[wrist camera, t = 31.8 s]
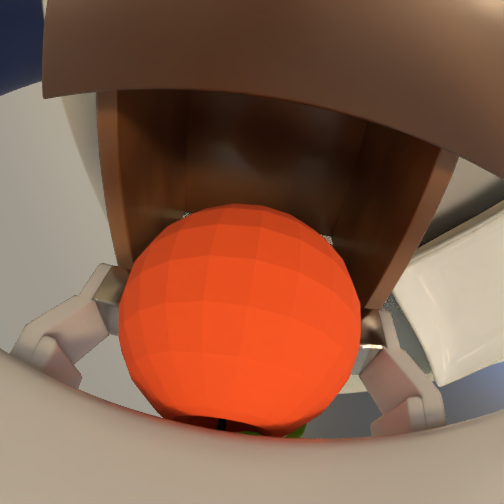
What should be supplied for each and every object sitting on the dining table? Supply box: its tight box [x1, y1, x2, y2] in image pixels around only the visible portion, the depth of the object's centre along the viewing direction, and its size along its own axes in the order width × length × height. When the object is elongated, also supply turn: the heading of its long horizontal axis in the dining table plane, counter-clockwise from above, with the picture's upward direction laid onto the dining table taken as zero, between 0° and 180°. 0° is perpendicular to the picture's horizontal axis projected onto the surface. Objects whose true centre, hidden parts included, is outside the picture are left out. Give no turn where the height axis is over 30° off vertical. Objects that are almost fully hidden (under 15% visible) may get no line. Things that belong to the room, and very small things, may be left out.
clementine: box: [119, 203, 361, 438], centre depth 8 cm, size 8×7×7 cm
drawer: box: [96, 89, 459, 310], centre depth 14 cm, size 18×12×9 cm
